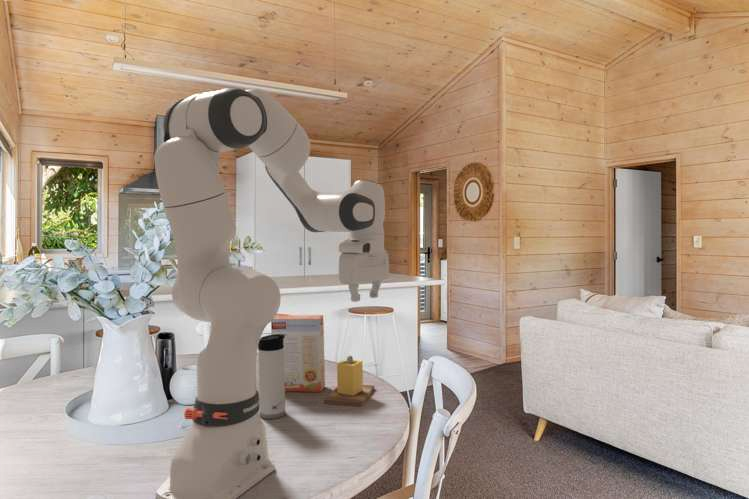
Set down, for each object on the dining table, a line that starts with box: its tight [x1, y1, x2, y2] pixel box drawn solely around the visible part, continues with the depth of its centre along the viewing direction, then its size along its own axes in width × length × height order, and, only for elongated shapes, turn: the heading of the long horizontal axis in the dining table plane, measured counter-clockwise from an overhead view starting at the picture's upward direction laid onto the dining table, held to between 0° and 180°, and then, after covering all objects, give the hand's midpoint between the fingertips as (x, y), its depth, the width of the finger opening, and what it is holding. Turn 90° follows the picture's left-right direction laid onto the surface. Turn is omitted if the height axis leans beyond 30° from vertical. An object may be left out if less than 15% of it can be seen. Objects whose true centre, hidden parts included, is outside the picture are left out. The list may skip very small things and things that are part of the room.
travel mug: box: [257, 334, 286, 420], centre depth 129 cm, size 6×7×20 cm
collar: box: [336, 358, 364, 395], centre depth 142 cm, size 5×5×8 cm
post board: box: [324, 355, 375, 407], centre depth 142 cm, size 14×10×11 cm
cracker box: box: [270, 314, 326, 393], centre depth 148 cm, size 14×6×21 cm, turn 84°
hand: (364, 299), depth 134 cm, fingers open, 8 cm apart
